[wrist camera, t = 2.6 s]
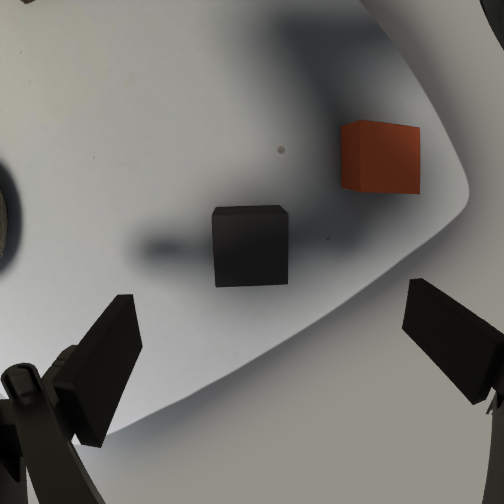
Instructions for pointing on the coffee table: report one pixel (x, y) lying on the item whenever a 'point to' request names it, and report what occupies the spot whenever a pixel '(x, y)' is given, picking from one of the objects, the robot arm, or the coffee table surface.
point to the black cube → (250, 245)
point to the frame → (27, 1)
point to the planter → (3, 223)
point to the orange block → (380, 157)
